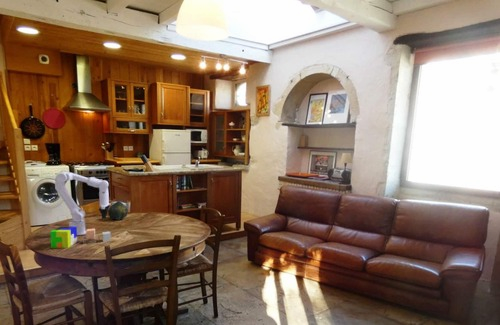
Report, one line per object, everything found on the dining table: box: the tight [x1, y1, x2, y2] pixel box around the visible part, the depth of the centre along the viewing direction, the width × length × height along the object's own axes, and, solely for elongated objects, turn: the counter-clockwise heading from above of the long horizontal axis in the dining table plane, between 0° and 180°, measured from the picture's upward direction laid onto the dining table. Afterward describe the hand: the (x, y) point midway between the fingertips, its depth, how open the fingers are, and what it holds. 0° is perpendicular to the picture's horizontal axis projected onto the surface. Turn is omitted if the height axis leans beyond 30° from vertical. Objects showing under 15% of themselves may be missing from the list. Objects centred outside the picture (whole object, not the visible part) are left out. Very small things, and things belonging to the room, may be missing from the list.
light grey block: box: [101, 230, 112, 243], centre depth 192 cm, size 4×4×5 cm
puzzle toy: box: [50, 226, 78, 249], centre depth 183 cm, size 10×10×10 cm
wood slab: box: [82, 234, 99, 245], centre depth 190 cm, size 7×7×3 cm
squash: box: [107, 200, 129, 221], centre depth 242 cm, size 14×15×15 cm
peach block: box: [85, 228, 96, 239], centre depth 190 cm, size 4×4×5 cm
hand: (104, 216), depth 209 cm, fingers open, 7 cm apart
